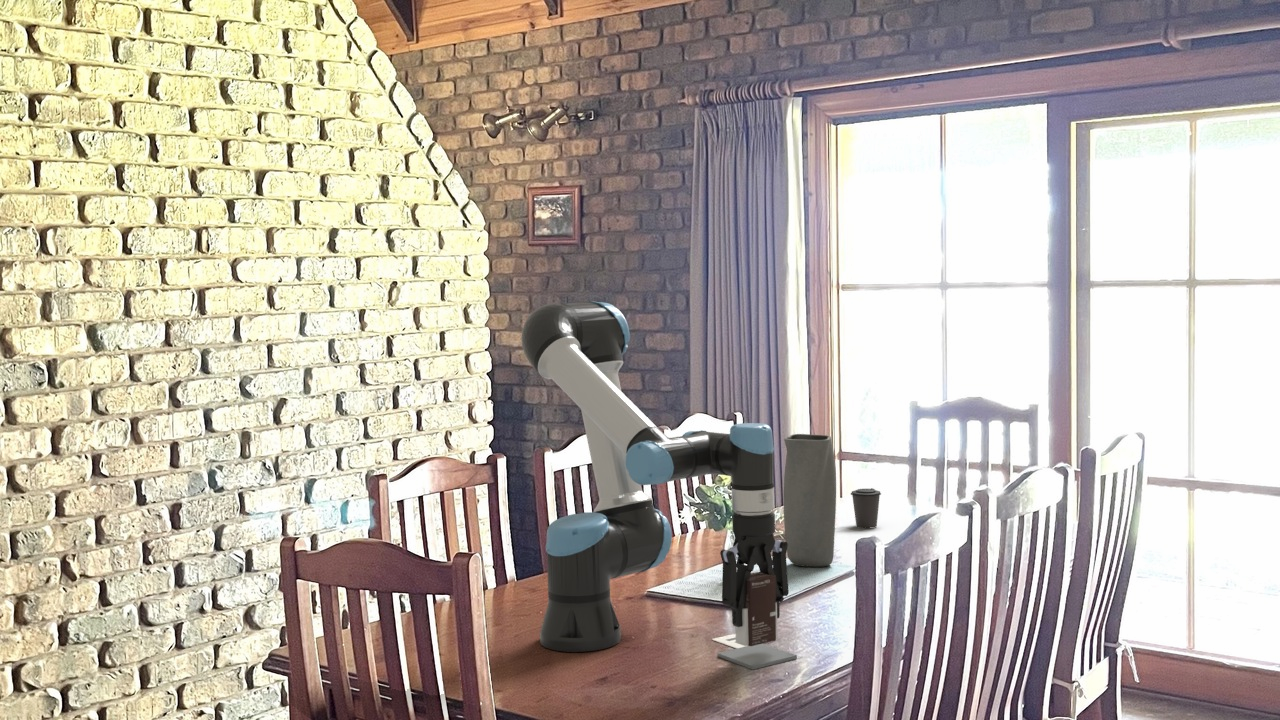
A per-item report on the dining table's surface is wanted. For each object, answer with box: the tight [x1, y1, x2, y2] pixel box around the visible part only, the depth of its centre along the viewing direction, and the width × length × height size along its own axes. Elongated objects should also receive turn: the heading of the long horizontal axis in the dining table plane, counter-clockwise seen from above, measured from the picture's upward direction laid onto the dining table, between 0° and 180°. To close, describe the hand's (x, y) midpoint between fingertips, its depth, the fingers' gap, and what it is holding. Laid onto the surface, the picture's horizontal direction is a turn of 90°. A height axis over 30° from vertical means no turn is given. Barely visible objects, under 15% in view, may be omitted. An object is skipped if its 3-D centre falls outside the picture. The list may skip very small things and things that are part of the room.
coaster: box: [716, 643, 798, 670], centre depth 229 cm, size 10×10×1 cm
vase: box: [783, 433, 837, 568], centre depth 300 cm, size 12×12×30 cm
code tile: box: [711, 633, 769, 649], centre depth 239 cm, size 7×8×1 cm
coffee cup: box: [850, 487, 882, 529], centre depth 343 cm, size 8×8×10 cm
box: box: [744, 571, 777, 646], centre depth 228 cm, size 6×4×12 cm
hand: (756, 640), depth 229 cm, fingers closed on box, 6 cm apart
